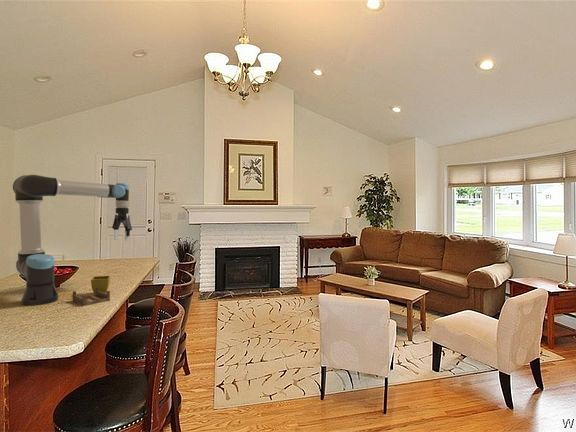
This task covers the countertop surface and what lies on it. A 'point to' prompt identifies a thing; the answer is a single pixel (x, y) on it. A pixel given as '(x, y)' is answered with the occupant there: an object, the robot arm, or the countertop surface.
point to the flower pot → (100, 283)
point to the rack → (92, 297)
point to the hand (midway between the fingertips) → (121, 240)
